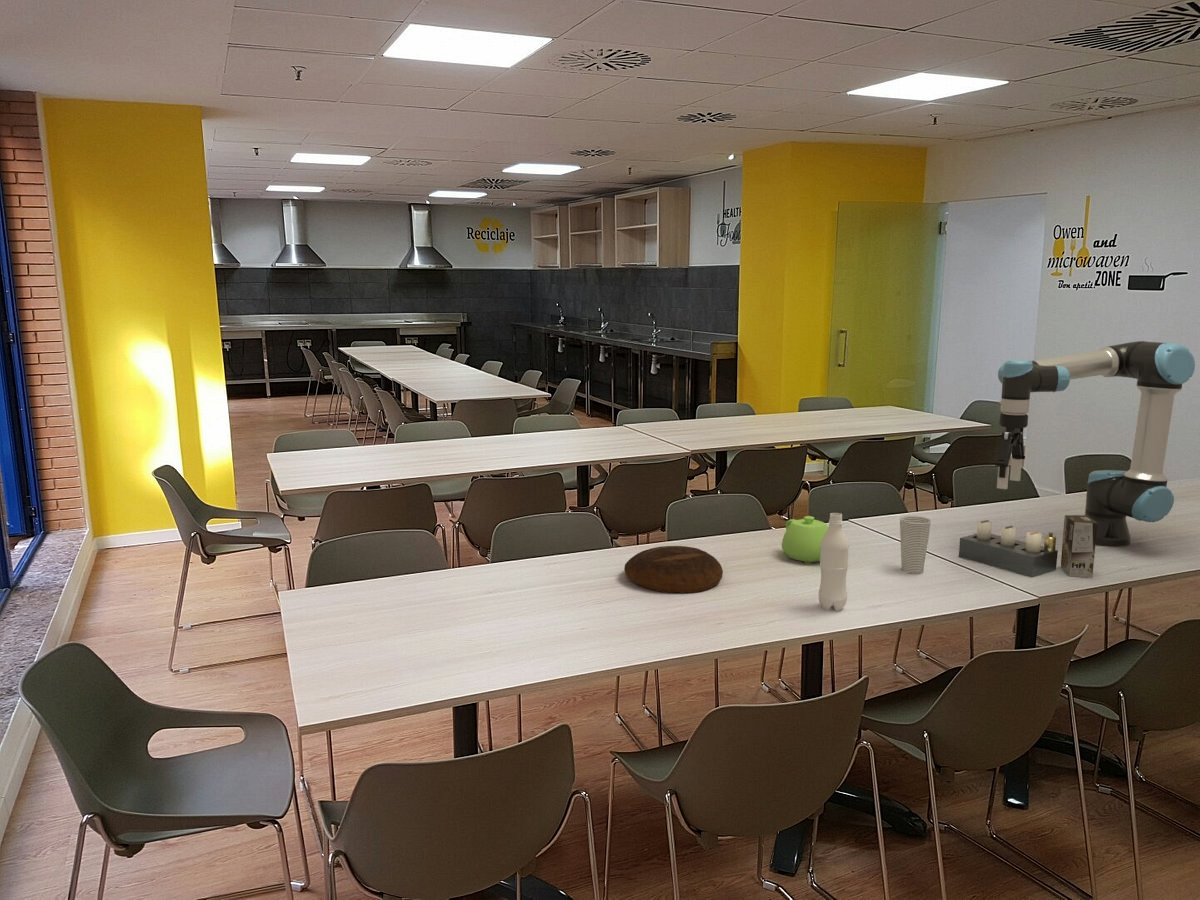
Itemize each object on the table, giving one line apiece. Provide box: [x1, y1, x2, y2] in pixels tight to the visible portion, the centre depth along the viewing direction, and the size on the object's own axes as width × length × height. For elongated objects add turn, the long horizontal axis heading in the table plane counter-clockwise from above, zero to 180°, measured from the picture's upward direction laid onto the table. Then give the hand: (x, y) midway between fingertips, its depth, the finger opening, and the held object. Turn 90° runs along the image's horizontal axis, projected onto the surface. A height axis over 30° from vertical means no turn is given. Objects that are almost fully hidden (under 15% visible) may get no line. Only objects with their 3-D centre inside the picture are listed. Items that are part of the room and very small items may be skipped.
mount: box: [958, 533, 1059, 578], centre depth 268 cm, size 12×24×6 cm, turn 33°
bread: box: [623, 545, 724, 594], centre depth 257 cm, size 28×27×9 cm
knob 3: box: [1025, 531, 1043, 554], centre depth 260 cm, size 4×4×7 cm
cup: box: [899, 515, 932, 575], centre depth 260 cm, size 8×8×16 cm
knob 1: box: [976, 519, 993, 541], centre depth 273 cm, size 4×4×7 cm
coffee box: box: [1060, 514, 1098, 578], centre depth 258 cm, size 9×6×16 cm
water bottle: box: [818, 512, 850, 611], centre depth 231 cm, size 7×7×25 cm
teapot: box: [781, 515, 829, 565], centre depth 273 cm, size 22×15×13 cm
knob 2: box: [1000, 525, 1017, 547], centre depth 267 cm, size 4×4×7 cm
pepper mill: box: [1043, 531, 1057, 552], centre depth 260 cm, size 3×3×5 cm
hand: (1008, 484), depth 264 cm, fingers open, 13 cm apart
